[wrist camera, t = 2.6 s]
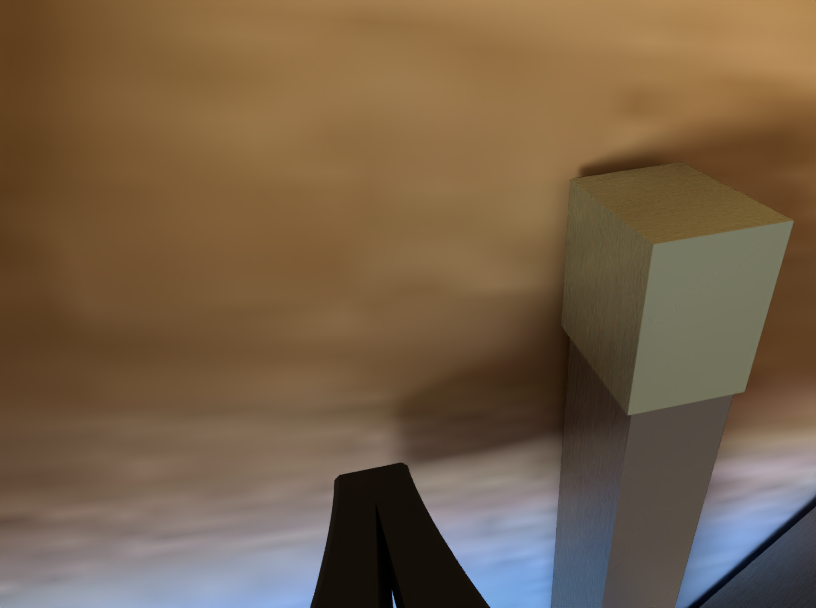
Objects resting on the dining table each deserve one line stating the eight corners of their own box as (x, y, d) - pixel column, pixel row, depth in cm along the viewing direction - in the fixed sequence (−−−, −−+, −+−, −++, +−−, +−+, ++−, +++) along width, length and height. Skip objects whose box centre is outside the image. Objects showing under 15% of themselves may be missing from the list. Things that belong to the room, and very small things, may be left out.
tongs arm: (681, 161, 10) (794, 220, 8) (599, 653, 18) (641, 747, 16) (570, 179, 10) (652, 244, 7) (540, 668, 18) (574, 765, 16)
